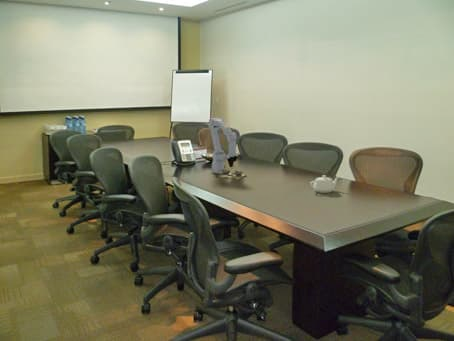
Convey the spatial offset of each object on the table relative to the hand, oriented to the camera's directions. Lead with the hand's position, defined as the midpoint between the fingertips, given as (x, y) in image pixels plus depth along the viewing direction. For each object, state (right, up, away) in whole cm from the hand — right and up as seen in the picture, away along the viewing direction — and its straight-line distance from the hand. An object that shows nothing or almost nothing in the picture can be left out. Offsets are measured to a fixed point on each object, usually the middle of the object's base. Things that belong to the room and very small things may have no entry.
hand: (232, 166), depth 312 cm
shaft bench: (0, -8, +2) cm, 8 cm away
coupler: (0, -2, 0) cm, 2 cm away
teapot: (+60, -17, -44) cm, 77 cm away
